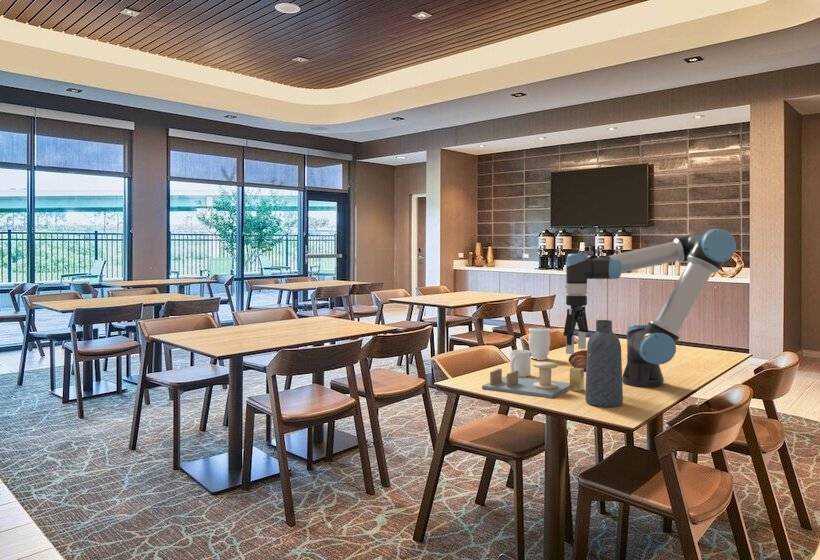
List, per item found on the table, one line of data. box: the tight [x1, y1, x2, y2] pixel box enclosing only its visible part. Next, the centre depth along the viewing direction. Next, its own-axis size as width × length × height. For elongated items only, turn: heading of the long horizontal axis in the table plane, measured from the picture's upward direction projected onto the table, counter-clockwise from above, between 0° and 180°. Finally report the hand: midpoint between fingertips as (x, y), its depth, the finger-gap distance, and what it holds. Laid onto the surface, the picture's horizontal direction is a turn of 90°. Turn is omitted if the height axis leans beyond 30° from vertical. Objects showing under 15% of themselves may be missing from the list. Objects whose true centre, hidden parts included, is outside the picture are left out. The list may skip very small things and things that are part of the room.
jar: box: [528, 327, 551, 360], centre depth 283 cm, size 11×10×15 cm
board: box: [481, 361, 570, 399], centre depth 222 cm, size 28×22×10 cm
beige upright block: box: [569, 367, 585, 393], centre depth 217 cm, size 4×4×8 cm
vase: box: [584, 319, 624, 408], centre depth 197 cm, size 12×12×28 cm
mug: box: [509, 349, 531, 378], centre depth 243 cm, size 12×8×10 cm
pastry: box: [568, 349, 587, 373], centre depth 261 cm, size 17×15×8 cm
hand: (576, 351), depth 217 cm, fingers open, 13 cm apart
